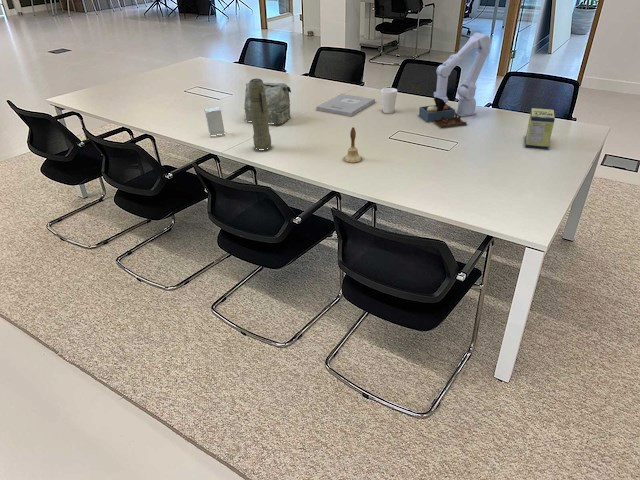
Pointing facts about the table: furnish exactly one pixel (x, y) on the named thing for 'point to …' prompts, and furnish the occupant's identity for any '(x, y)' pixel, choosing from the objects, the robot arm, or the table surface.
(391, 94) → the foam cup
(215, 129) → the cosmetic box
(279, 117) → the lunch bag
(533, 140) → the protein box
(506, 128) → the table surface
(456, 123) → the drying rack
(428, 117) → the wash tub
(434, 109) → the bottle brush
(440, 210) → the table surface
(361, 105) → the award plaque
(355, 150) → the hand bell
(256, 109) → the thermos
